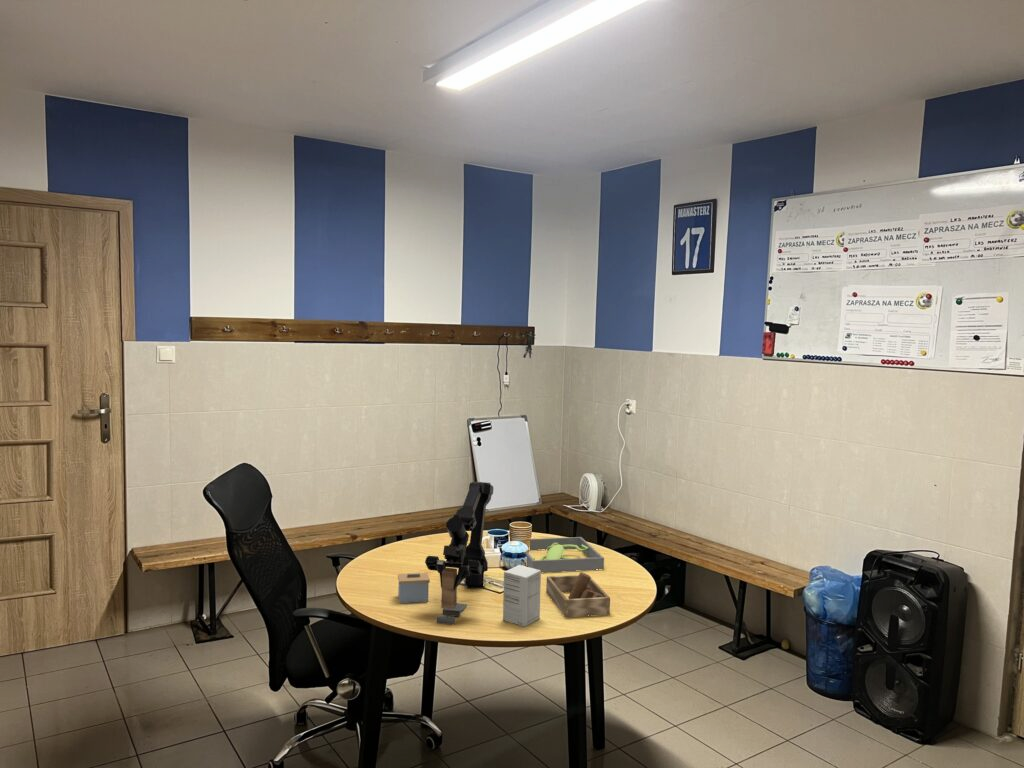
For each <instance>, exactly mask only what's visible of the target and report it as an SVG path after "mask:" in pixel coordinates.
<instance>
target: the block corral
mask: <svg viewBox="0 0 1024 768" xmlns="http://www.w3.org/2000/svg"><path fill="white" fill-rule="evenodd" d="M578 576H579V574H575V575H574V574H571V575H569V574H568V575H554V576H553V575H552V576H551V575H550V576H546V586H545V587H546V588H545V590H546V591H545V592H546V594H547V595H548V597H549V599H550V600H551V599H552V600H551V601H552V602H553V604H554V603H555V604H554V605H555V607H556V608H557V609H558V610H559V611H560V613H561V615H562V616H563V615H564V616H563V617H564V618H565V617H568V618H579V617H578V616H584V617H592V616H591V615H599V616H609V615H610V613H611V611H610V610H611V609H610V607H611V605H610V604H611V597H610V596H609V595H608V594H607V592H606V591H604V590H603V589H602V588H601V587H600V585H598V584H597V582H596V581H595V580H594V579H593V578H592V577H591V578H590V580H589V583H588V585H587V588H589V589H591V591H593V592H597V593H600V594H602V595H603V596H604V597H598V598H580V599H569V598H567V597H566V596H565V594H564V593H571V591H572V589H573V587H574V584H575V582H576V580H577V578H578ZM562 592H563V593H562ZM608 614H609V615H608ZM588 615H589V616H588Z"/></svg>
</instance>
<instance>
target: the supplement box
mask: <svg viewBox="0 0 1024 768" xmlns="http://www.w3.org/2000/svg"><path fill="white" fill-rule="evenodd" d="M541 580H542V573H541V570H538V569H534V568H530V567H527V566H526V565H522V564H518V565H515V566H514V567H511V568H510V569H507V570H505V571H504V572H503V593H502V594H503V601H502V606H503V607H502V620H503V621H504V620H505V622H509V623H511V624H514V623H515V625H517V624H518V626H520V627H521V626H522V627H524V626H525V627H528V626H529V625H531V624H533V623H534V622H536V621H537V620H538V619H540V616H541V614H540V613H541V588H542V587H541V584H542V581H541Z"/></svg>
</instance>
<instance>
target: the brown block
mask: <svg viewBox="0 0 1024 768" xmlns="http://www.w3.org/2000/svg"><path fill="white" fill-rule="evenodd" d="M457 574H458V568H451V567H446V568H445V569H444V570H443V571H442V588H441V607H440V608H441V609H443V608H445V609H454V607H455V606H456V603H457V595H458V594H457V593H458V591H457V590H458V589H457V588H458V587H457V588H456V590H454V584H455V580H456V577H457Z"/></svg>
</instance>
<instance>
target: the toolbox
mask: <svg viewBox="0 0 1024 768" xmlns="http://www.w3.org/2000/svg"><path fill="white" fill-rule="evenodd" d="M397 579H398V588H397V589H398V594H397V595H398V596H399V597H398V596H397V597H398V600H399V601H400V602H399V604H411V603H410V602H413V603H425V602H429V586H430V581H431V580H430V577H429V575H428V572H415V573H412V572H411V573H398V574H397Z"/></svg>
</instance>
